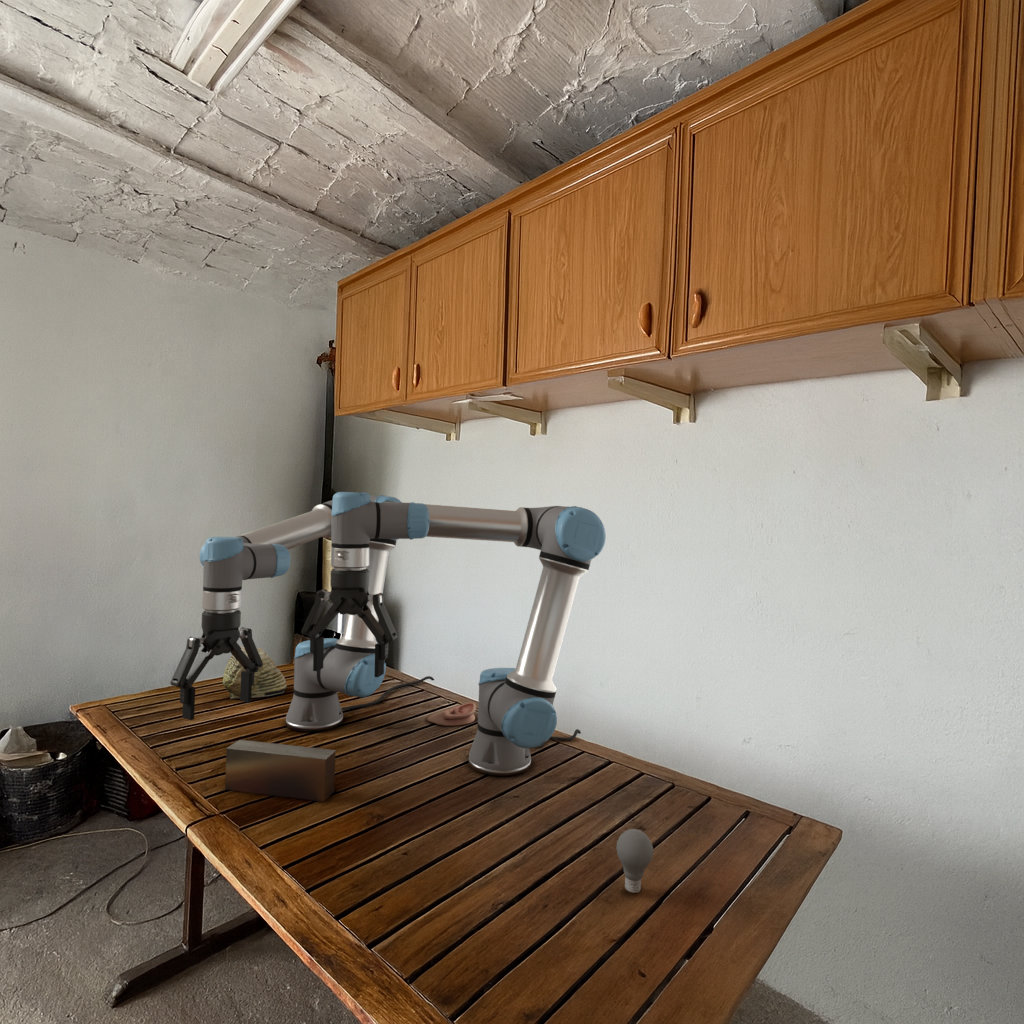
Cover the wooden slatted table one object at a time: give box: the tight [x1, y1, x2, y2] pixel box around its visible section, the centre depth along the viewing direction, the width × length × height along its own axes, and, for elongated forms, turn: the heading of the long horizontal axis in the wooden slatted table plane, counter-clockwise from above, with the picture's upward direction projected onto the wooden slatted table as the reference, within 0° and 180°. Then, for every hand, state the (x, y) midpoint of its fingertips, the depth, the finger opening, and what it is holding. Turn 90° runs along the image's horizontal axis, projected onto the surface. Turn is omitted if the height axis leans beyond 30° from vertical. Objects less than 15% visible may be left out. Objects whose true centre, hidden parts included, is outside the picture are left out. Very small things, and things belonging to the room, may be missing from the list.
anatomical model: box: [426, 702, 477, 726], centre depth 183 cm, size 13×4×12 cm
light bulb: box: [615, 828, 654, 894], centre depth 106 cm, size 6×6×10 cm
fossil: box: [222, 646, 288, 699], centre depth 198 cm, size 9×18×15 cm, turn 132°
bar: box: [224, 739, 337, 803], centre depth 136 cm, size 22×5×9 cm, turn 81°
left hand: (218, 709), depth 134 cm, fingers open, 13 cm apart
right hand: (348, 672), depth 129 cm, fingers open, 13 cm apart
